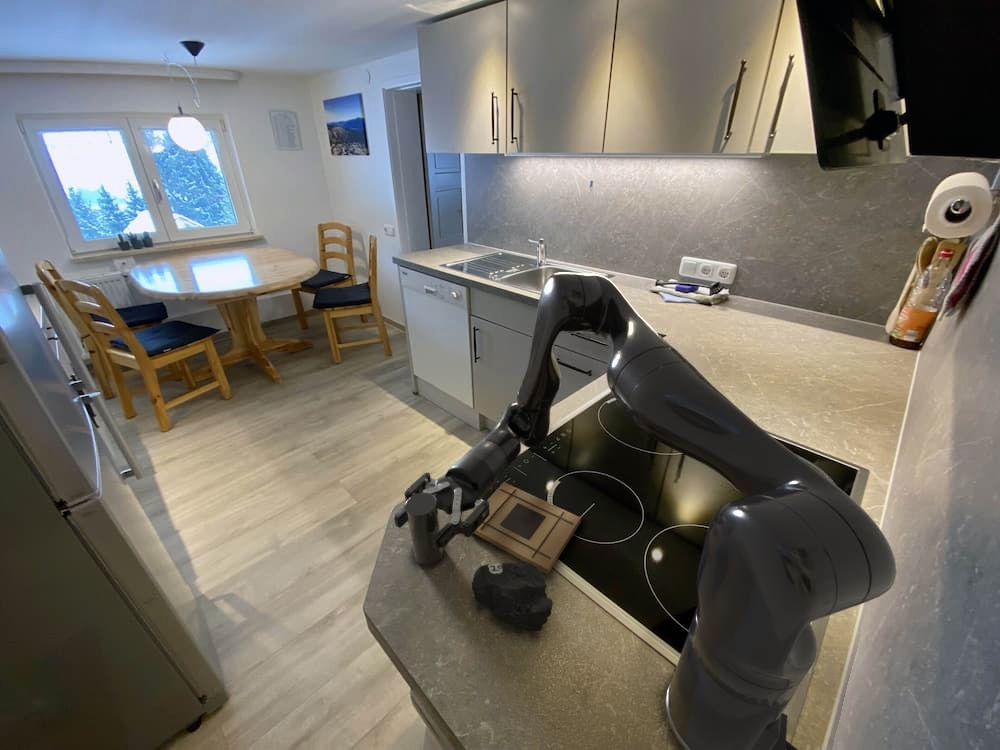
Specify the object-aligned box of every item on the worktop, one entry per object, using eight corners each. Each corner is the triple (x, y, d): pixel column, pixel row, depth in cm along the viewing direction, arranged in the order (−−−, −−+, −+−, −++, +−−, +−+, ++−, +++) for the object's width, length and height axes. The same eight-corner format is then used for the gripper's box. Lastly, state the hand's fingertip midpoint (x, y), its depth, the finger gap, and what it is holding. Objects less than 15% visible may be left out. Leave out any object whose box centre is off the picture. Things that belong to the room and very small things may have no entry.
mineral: (478, 646, 54) (476, 619, 52) (471, 584, 62) (469, 558, 60) (553, 632, 56) (555, 605, 53) (537, 573, 64) (538, 547, 61)
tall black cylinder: (448, 549, 68) (442, 500, 62) (429, 570, 65) (421, 520, 59) (428, 536, 70) (420, 488, 65) (408, 556, 67) (398, 507, 62)
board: (580, 522, 72) (581, 517, 71) (547, 574, 63) (547, 569, 63) (504, 486, 80) (503, 481, 79) (465, 528, 71) (464, 523, 71)
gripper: (445, 441, 76) (377, 497, 64) (511, 468, 69) (449, 538, 57) (448, 472, 80) (385, 531, 68) (512, 501, 73) (454, 572, 61)
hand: (415, 534), depth 63 cm, fingers open, 7 cm apart
